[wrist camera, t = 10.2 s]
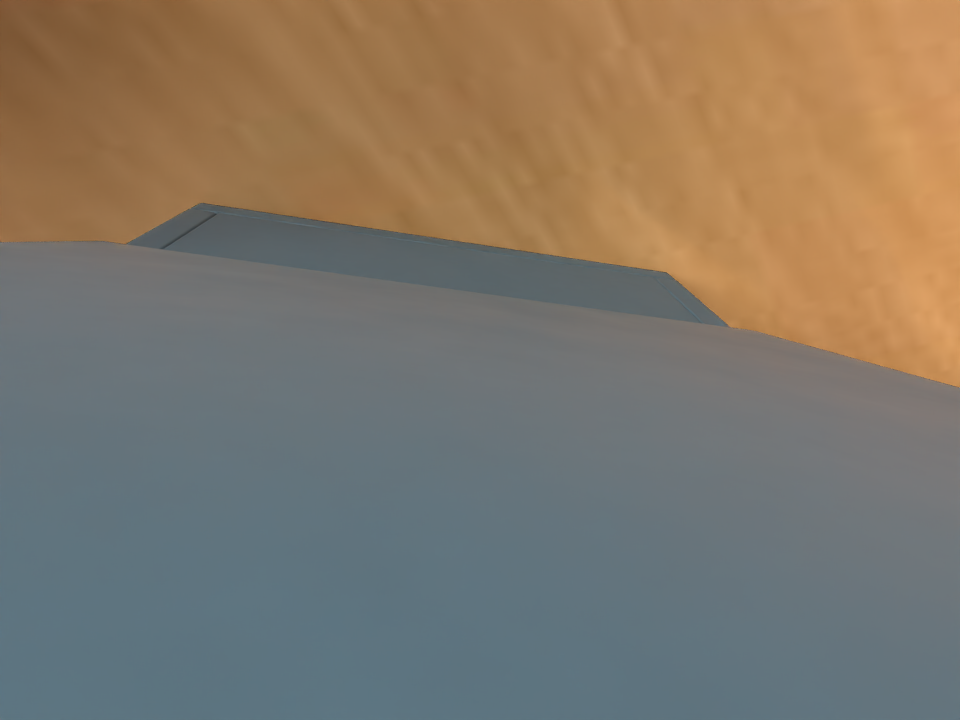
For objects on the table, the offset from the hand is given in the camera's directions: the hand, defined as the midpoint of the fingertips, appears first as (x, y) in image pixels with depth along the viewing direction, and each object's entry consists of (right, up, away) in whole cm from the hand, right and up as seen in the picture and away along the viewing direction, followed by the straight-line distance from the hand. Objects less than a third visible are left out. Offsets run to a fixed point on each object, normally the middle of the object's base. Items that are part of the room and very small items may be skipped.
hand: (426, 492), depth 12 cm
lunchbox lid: (+1, +2, -9) cm, 9 cm away
